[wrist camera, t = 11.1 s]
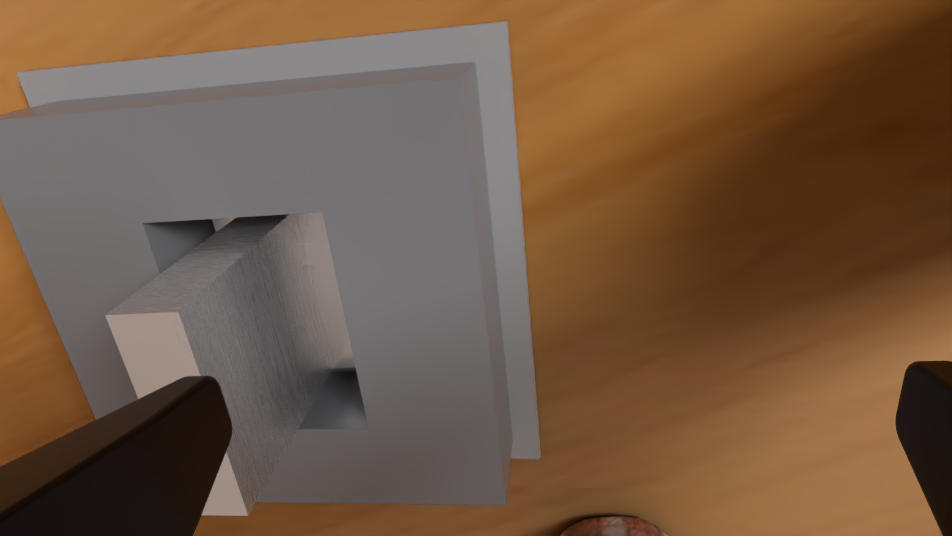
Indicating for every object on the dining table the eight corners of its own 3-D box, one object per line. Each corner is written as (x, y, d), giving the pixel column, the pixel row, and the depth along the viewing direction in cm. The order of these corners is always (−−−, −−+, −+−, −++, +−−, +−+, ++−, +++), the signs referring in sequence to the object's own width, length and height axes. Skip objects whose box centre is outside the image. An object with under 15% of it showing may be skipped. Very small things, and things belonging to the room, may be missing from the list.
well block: (508, 20, 19) (495, 31, 15) (540, 448, 25) (538, 528, 21) (30, 70, 21) (-80, 89, 17) (173, 449, 27) (115, 520, 24)
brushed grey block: (339, 194, 21) (224, 310, 14) (371, 349, 23) (288, 515, 16) (228, 203, 21) (61, 316, 14) (270, 352, 24) (146, 514, 17)
